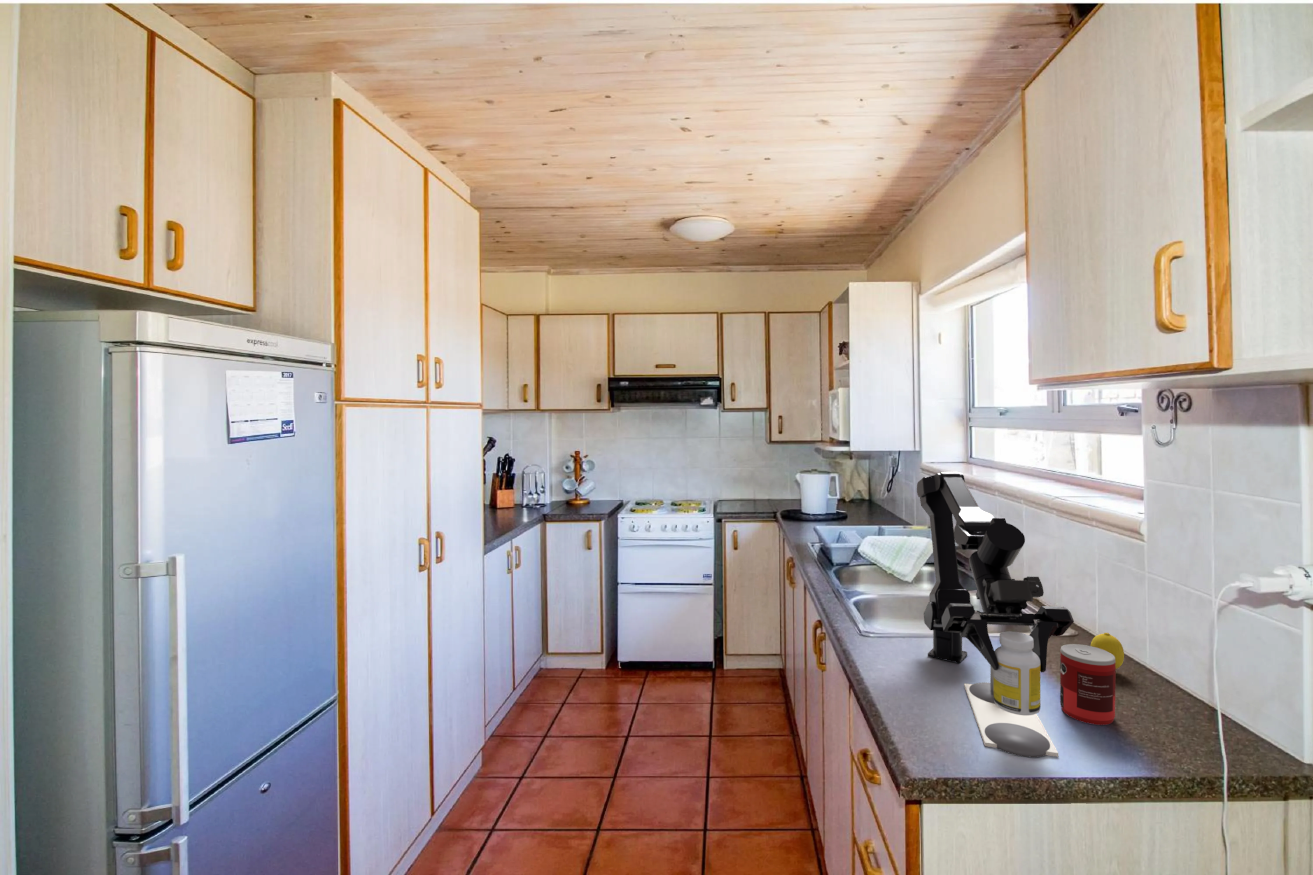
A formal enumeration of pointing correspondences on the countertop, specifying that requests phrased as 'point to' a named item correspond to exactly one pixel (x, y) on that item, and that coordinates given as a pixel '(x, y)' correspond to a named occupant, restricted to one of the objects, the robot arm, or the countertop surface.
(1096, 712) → the canned food
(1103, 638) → the lemon
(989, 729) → the board
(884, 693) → the countertop surface
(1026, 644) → the pill bottle
